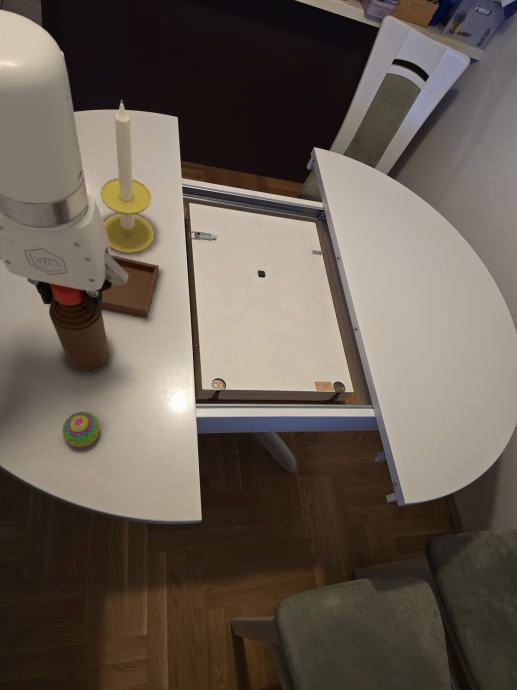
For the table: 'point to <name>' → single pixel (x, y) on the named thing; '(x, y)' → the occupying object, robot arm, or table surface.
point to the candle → (126, 197)
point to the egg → (81, 429)
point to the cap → (67, 294)
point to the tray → (132, 288)
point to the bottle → (80, 334)
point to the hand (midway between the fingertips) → (72, 298)
